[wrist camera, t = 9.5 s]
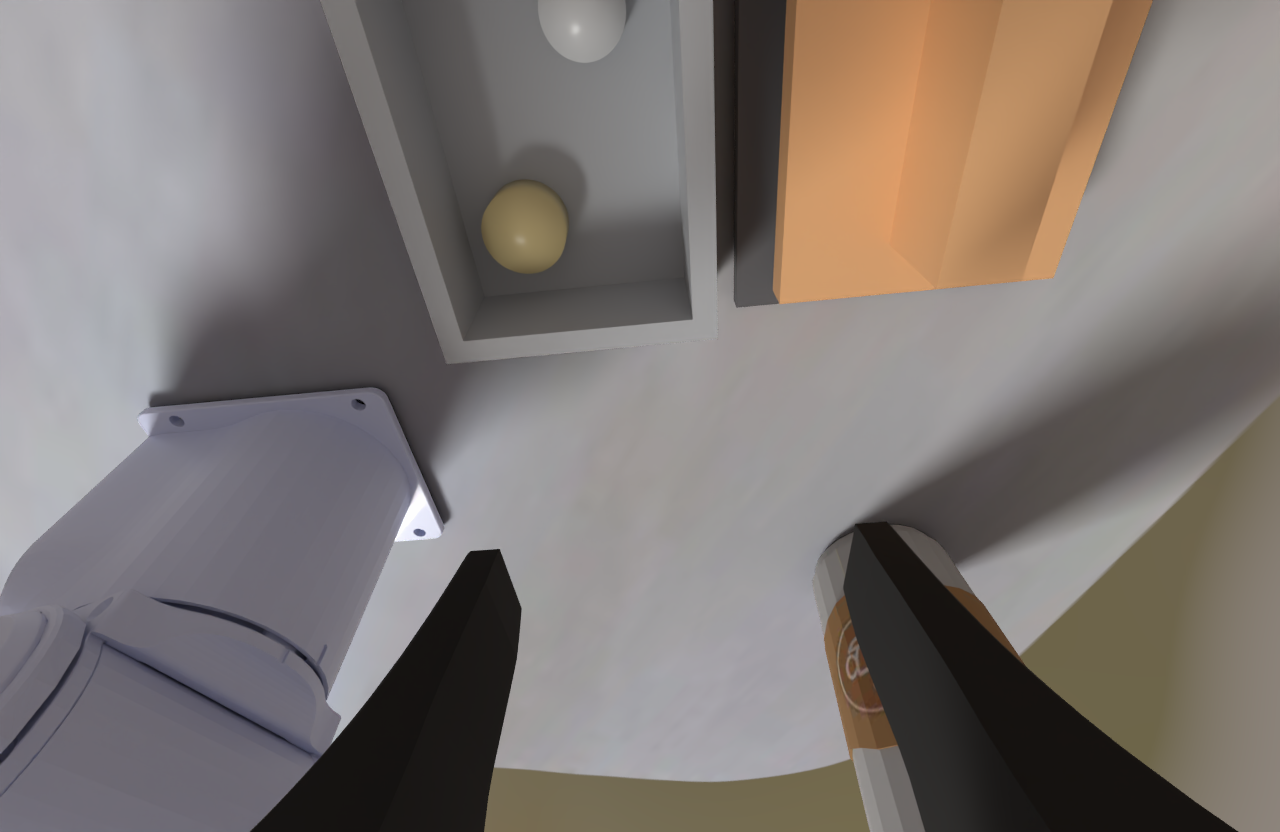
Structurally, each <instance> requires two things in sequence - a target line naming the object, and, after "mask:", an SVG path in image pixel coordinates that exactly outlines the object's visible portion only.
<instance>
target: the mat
mask: <svg viewBox="0 0 1280 832" xmlns="http://www.w3.org/2000/svg"><path fill="white" fill-rule="evenodd" d="M786 1H787V0H735V166H734V301H735V304H736V307H747V306H758V305H768V304H779V302H778V300H777V298H776V296H775V294H774V292H773V273H774V252H775V231H776V211H777V190H778V169H779V148H780V127H781V106H782V85H783V64H784V43H785V22H786Z"/></svg>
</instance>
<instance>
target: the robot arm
mask: <svg viewBox="0 0 1280 832" xmlns="http://www.w3.org/2000/svg"><path fill="white" fill-rule="evenodd" d="M355 399H359V400H361V401H363V402H364V403H365V405H364V404H360V403H358V402H357V401H356V400H355ZM179 417H180V418H181V419H180V418H179ZM137 420H138V422H139V424H140V425H141V427H142V428H143V429H144V431H145V432H146V433H147V434H148V436H149V437H148V438H147V439H146V440H145V441H144V442H143V443H142V444H141V445H140V446H139V447H138V448H136V449H135V450H134V451H133V452H132V453H131V454H130V455H129V456H128V457H127V458H126V459H125V460H123V461H122V462H121V463H120V464H119V465H118V466H117V467H116V468H115V469H114V470H113V471H111V472H110V473H109V474H108V475H107V476H106V477H105V478H104V479H103V480H102V481H101V482H100V483H98V484H97V485H96V486H95V487H94V488H93V489H92V490H91V491H90V492H89V493H88V494H87V495H85V496H84V497H83V498H82V499H81V500H80V501H79V502H78V503H77V504H76V505H75V506H73V507H72V508H71V509H70V510H69V511H68V512H67V513H66V514H65V515H64V516H63V517H62V518H60V519H59V520H58V521H57V522H56V523H55V524H54V525H53V526H52V527H51V528H50V529H48V530H47V531H46V532H45V533H44V534H43V535H42V536H41V537H40V538H39V539H38V540H37V541H35V542H34V543H33V544H32V545H31V546H30V548H29V549H28V550H27V551H26V552H25V553H24V554H23V555H22V557H21V558H20V559H19V561H18V562H17V564H16V565H15V567H14V568H13V570H12V571H11V573H10V575H9V577H8V579H7V581H6V583H5V585H4V588H3V591H2V594H1V597H0V832H484V826H485V819H486V811H487V803H488V795H489V790H490V784H491V778H492V773H493V768H494V763H495V759H496V754H497V749H498V745H499V740H500V736H501V731H502V726H503V722H504V717H505V712H506V708H507V703H508V698H509V694H510V689H511V684H512V679H513V674H514V670H515V665H516V660H517V652H518V642H519V633H520V621H521V606H520V603H519V600H518V598H517V595H516V592H515V590H514V587H513V584H512V581H511V579H510V576H509V573H508V571H507V568H506V565H505V562H504V560H503V557H502V554H501V552H500V549H494V550H480V551H470V552H469V553H468V554H467V556H466V557H465V559H464V561H463V562H462V564H461V565H460V567H459V569H458V570H457V572H456V573H455V575H454V577H453V578H452V580H451V581H450V583H449V585H448V586H447V588H446V589H445V591H444V593H443V594H442V596H441V597H440V599H439V600H438V602H437V603H436V605H435V606H434V608H433V610H432V611H431V613H430V614H429V616H428V617H427V619H426V620H425V622H424V623H423V625H422V626H421V627H420V629H419V630H418V632H417V633H416V635H415V636H414V638H413V639H412V641H411V642H410V644H409V645H408V646H407V648H406V649H405V651H404V652H403V654H402V655H401V656H400V658H399V659H398V661H397V662H396V663H395V665H394V666H393V667H392V669H391V670H390V671H389V673H388V674H387V675H386V677H385V678H384V679H383V681H382V682H381V683H380V685H379V686H378V687H377V689H376V690H375V691H374V693H373V694H372V695H371V697H370V698H369V699H368V701H367V702H366V703H365V704H364V706H363V707H362V708H361V709H360V711H359V712H358V713H357V714H356V716H355V717H354V718H353V719H352V720H351V722H350V723H349V724H348V725H347V727H346V728H345V729H344V730H343V731H342V732H341V734H340V735H339V736H338V737H337V738H336V740H335V741H334V742H333V743H332V740H333V737H334V735H335V732H336V730H337V727H338V725H339V722H340V720H341V716H340V715H339V714H338V713H336V712H335V711H333V710H332V709H331V708H330V707H329V706H328V704H327V702H326V700H327V698H328V696H329V693H330V691H331V688H332V686H333V684H334V681H335V679H336V677H337V674H338V672H339V670H340V667H341V665H342V663H343V660H344V658H345V656H346V653H347V651H348V649H349V646H350V644H351V642H352V639H353V637H354V635H355V632H356V630H357V628H358V625H359V623H360V621H361V618H362V616H363V613H364V611H365V609H366V606H367V604H368V602H369V599H370V597H371V595H372V592H373V590H374V588H375V585H376V583H377V581H378V578H379V576H380V574H381V571H382V569H383V567H384V564H385V562H386V560H387V557H388V555H389V553H390V550H391V548H392V546H393V543H394V542H397V541H410V540H422V539H434V538H438V537H440V536H441V535H442V533H443V530H444V524H443V522H442V520H441V518H440V515H439V513H438V511H437V508H436V506H435V504H434V502H433V499H432V497H431V495H430V492H429V490H428V488H427V486H426V483H425V481H424V479H423V476H422V474H421V472H420V470H419V467H418V465H417V463H416V460H415V458H414V456H413V454H412V451H411V449H410V447H409V444H408V442H407V440H406V438H405V435H404V433H403V431H402V428H401V426H400V424H399V422H398V419H397V417H396V415H395V412H394V410H393V408H392V406H391V403H390V401H389V399H388V397H387V395H386V394H385V393H384V392H383V391H382V390H380V389H377V388H372V387H368V388H357V389H346V390H336V391H325V392H314V393H303V394H292V395H281V396H270V397H259V398H248V399H237V400H227V401H216V402H205V403H194V404H183V405H172V406H161V407H150V408H146V409H145V410H143V411H142V412H141V413H140V414H139V415H138V416H137ZM421 529H422V530H421ZM843 590H844V594H845V598H846V602H847V606H848V610H849V614H850V617H851V621H852V625H853V628H854V632H855V636H856V639H857V641H858V644H859V647H860V649H861V652H862V655H863V657H864V660H865V663H866V665H867V668H868V670H869V673H870V676H871V678H872V681H873V683H874V686H875V688H876V691H877V693H878V696H879V699H880V701H881V704H882V706H883V709H884V711H885V714H886V716H887V719H888V722H889V724H890V727H891V729H892V732H893V734H894V737H895V739H896V742H897V745H898V747H899V750H900V752H901V755H902V758H903V761H904V764H905V767H906V770H907V773H908V775H909V779H910V782H911V785H912V789H913V792H914V796H915V799H916V802H917V806H918V809H919V813H920V816H921V820H922V823H923V826H924V830H925V832H1238V831H1236V830H1235V829H1234V828H1232V827H1231V826H1229V825H1228V824H1226V823H1225V822H1224V821H1222V820H1221V819H1219V818H1218V817H1216V816H1215V815H1213V814H1212V813H1211V812H1209V811H1207V810H1206V809H1205V808H1203V807H1202V806H1200V805H1199V804H1198V803H1196V802H1195V801H1193V800H1192V799H1191V798H1189V797H1188V796H1187V795H1185V794H1184V793H1183V792H1181V791H1180V790H1179V789H1177V788H1176V787H1175V786H1173V785H1172V784H1171V783H1169V782H1168V781H1167V780H1165V779H1164V778H1163V777H1161V776H1160V775H1159V774H1157V773H1156V772H1154V771H1153V770H1152V769H1150V768H1149V767H1148V766H1146V765H1145V764H1144V763H1142V762H1141V761H1140V760H1138V759H1137V758H1136V757H1134V756H1133V755H1132V754H1130V753H1129V752H1128V751H1126V750H1125V749H1124V748H1122V747H1121V746H1120V745H1118V744H1117V743H1116V742H1114V741H1113V740H1112V739H1111V738H1110V737H1108V736H1107V735H1106V734H1105V733H1103V732H1102V731H1101V730H1100V729H1099V728H1097V727H1096V726H1095V725H1094V724H1092V723H1091V722H1089V720H1087V719H1086V718H1085V717H1084V716H1082V715H1081V714H1080V713H1079V712H1078V711H1076V710H1075V709H1074V708H1073V707H1072V706H1071V705H1069V704H1068V703H1067V702H1066V701H1065V700H1063V699H1062V698H1061V697H1060V696H1059V695H1057V694H1056V693H1055V692H1054V691H1053V690H1052V689H1051V688H1049V687H1048V686H1047V685H1046V684H1045V683H1044V682H1043V681H1042V680H1040V679H1039V678H1038V677H1037V676H1036V675H1035V674H1034V673H1033V672H1032V671H1030V670H1029V669H1028V668H1027V667H1026V666H1025V665H1024V664H1023V663H1022V662H1021V661H1020V660H1018V659H1017V658H1016V657H1015V656H1014V655H1013V654H1012V653H1011V652H1010V651H1009V650H1008V649H1007V648H1006V647H1005V646H1004V645H1003V644H1001V643H1000V642H999V641H998V640H997V639H996V638H995V637H994V636H993V635H992V634H991V633H990V632H989V631H988V630H987V629H986V628H985V627H984V626H983V625H982V624H981V623H980V622H979V621H978V620H977V619H976V618H975V617H974V616H973V615H972V614H971V613H970V612H969V611H968V610H967V609H966V608H965V607H964V606H963V604H962V603H961V602H960V601H959V600H958V599H957V598H956V597H955V596H954V595H953V594H952V593H951V592H950V591H949V590H948V589H947V588H946V587H945V586H944V585H943V584H942V582H941V581H940V580H939V579H938V578H937V577H936V576H935V575H934V574H933V573H932V571H931V570H930V569H929V568H928V567H927V566H926V565H925V564H924V563H923V562H922V560H921V559H920V558H919V557H918V556H917V555H916V554H915V553H914V551H913V550H912V549H911V548H910V547H909V546H908V545H907V543H906V542H905V541H904V540H903V539H902V538H901V537H900V535H899V534H898V533H897V532H896V531H895V530H894V528H893V527H892V526H891V525H890V524H889V523H887V522H876V523H862V524H855V528H854V533H853V538H852V543H851V549H850V554H849V559H848V564H847V569H846V574H845V580H844V585H843ZM331 743H332V744H331Z"/></svg>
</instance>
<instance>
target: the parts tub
mask: <svg viewBox="0 0 1280 832" xmlns="http://www.w3.org/2000/svg"><path fill="white" fill-rule="evenodd" d="M320 2H321V5H322V8H323V11H324V14H325V17H326V20H327V22H328V25H329V28H330V31H331V34H332V37H333V40H334V43H335V45H336V48H337V51H338V54H339V57H340V60H341V63H342V65H343V68H344V71H345V74H346V77H347V80H348V83H349V86H350V88H351V91H352V94H353V97H354V100H355V103H356V106H357V109H358V111H359V114H360V117H361V120H362V123H363V126H364V129H365V132H366V134H367V137H368V140H369V143H370V146H371V149H372V152H373V155H374V157H375V160H376V163H377V166H378V169H379V172H380V175H381V178H382V180H383V183H384V186H385V189H386V192H387V195H388V198H389V201H390V203H391V206H392V209H393V212H394V215H395V218H396V221H397V224H398V226H399V229H400V232H401V235H402V238H403V241H404V244H405V246H406V249H407V252H408V255H409V258H410V261H411V264H412V267H413V269H414V272H415V275H416V278H417V281H418V284H419V287H420V290H421V292H422V295H423V298H424V301H425V304H426V307H427V310H428V313H429V315H430V318H431V321H432V324H433V327H434V330H435V333H436V336H437V338H438V341H439V344H440V347H441V350H442V353H443V356H444V359H445V361H446V364H456V363H467V362H477V361H488V360H499V359H510V358H520V357H531V356H542V355H553V354H563V353H574V352H585V351H596V350H606V349H617V348H628V347H639V346H649V345H660V344H671V343H682V342H692V341H703V340H714V339H718V314H717V245H716V176H715V108H714V39H713V0H320Z"/></svg>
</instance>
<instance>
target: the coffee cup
mask: <svg viewBox="0 0 1280 832" xmlns="http://www.w3.org/2000/svg"><path fill="white" fill-rule="evenodd" d="M891 526H892V527H893V528H894V530H895V531H896V532H897V533H898V534H899V535H900V537H901V538H902V539H903V540H904V541H905V542H906V543H907V545H908V546H909V547H910V548H911V549H912V550H913V551H914V553H915V554H916V555H917V556H918V557H919V558H920V559H921V560H922V562H923V563H924V564H925V565H926V566H927V567H928V568H929V569H930V570H931V571H932V573H933V574H934V575H935V576H936V577H937V578H938V579H939V580H940V581H941V582H942V584H943V585H944V586H945V587H946V588H947V589H948V590H949V591H950V592H951V593H952V594H953V595H954V596H955V597H956V598H957V599H958V600H959V601H960V602H961V603H962V604H963V606H964V607H965V608H966V609H967V610H968V611H969V612H970V613H971V614H972V615H973V616H974V617H975V618H976V619H977V620H978V621H979V622H980V623H981V624H982V625H983V626H984V627H985V628H986V629H987V630H988V631H989V632H990V633H991V634H992V635H993V636H994V637H995V638H996V639H997V640H998V641H999V642H1000V643H1001V644H1003V645H1004V646H1005V647H1006V648H1007V649H1008V650H1009V651H1010V652H1011V653H1012V654H1013V655H1014V656H1015V657H1016V658H1017V659H1018V660H1020V661H1021V662H1022V663H1023V661H1022V660H1021V658H1020V657H1019V655H1018V654H1017V652H1016V651H1015V650H1014V648H1013V647H1012V645H1011V644H1010V642H1009V641H1008V639H1007V638H1006V636H1005V635H1004V633H1003V632H1002V631H1001V629H1000V628H999V626H998V625H997V623H996V622H995V620H994V619H993V617H992V616H991V615H990V613H989V612H988V610H987V609H986V607H985V606H984V604H983V603H982V602H981V601H980V600H979V599H978V598H977V597H976V596H975V594H974V593H973V591H972V590H971V588H970V587H969V585H968V584H967V582H966V581H965V580H964V578H963V577H962V575H961V574H960V572H959V571H958V569H957V568H956V566H955V565H954V563H953V562H952V560H951V559H950V557H949V556H948V554H947V553H946V552H945V550H944V549H943V548H942V547H941V546H940V545H939V543H938V542H937V541H936V540H934V539H932V538H930V537H928V536H926V535H925V534H924V533H922V532H920V531H918V530H916V529H914V528H912V527H907V526H902V525H891ZM853 533H854V532H852V533H850V534H848V535H846V536H844V537H842V538H841V539H839V540H837V541H836V542H834V543H833V544H832V545H831V546H830V547H828V548H827V549H826V550H825V551H824V553H823V554H822V556H821V557H820V558H819V560H818V562H817V566H816V569H815V575H814V578H813V591H814V596H815V600H816V604H817V608H818V613H819V617H820V621H821V625H822V630H823V634H824V641H825V651H826V655H827V659H828V664H829V668H830V672H831V677H832V681H833V685H834V690H835V694H836V698H837V703H838V707H839V711H840V716H841V720H842V724H843V729H844V733H845V737H846V742H847V746H848V750H849V755H850V758H851V759H852V761H853V762H854V765H855V770H856V774H857V778H858V782H859V787H860V791H861V795H862V799H863V803H864V808H865V812H866V816H867V820H868V825H869V829H870V832H925V830H924V826H923V823H922V820H921V816H920V813H919V809H918V806H917V802H916V799H915V796H914V792H913V789H912V785H911V782H910V779H909V775H908V773H907V770H906V767H905V764H904V761H903V758H902V755H901V752H900V750H899V747H898V745H897V742H896V739H895V737H894V734H893V732H892V729H891V727H890V724H889V722H888V719H887V716H886V714H885V711H884V709H883V706H882V704H881V701H880V699H879V696H878V693H877V691H876V688H875V686H874V683H873V681H872V678H871V676H870V673H869V670H868V668H867V665H866V663H865V660H864V657H863V655H862V652H861V649H860V647H859V644H858V641H857V639H856V636H855V632H854V628H853V625H852V621H851V617H850V614H849V610H848V606H847V602H846V598H845V594H844V590H843V585H844V580H845V574H846V569H847V564H848V559H849V554H850V549H851V543H852V538H853ZM1023 664H1024V663H1023ZM1024 665H1025V664H1024Z"/></svg>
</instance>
